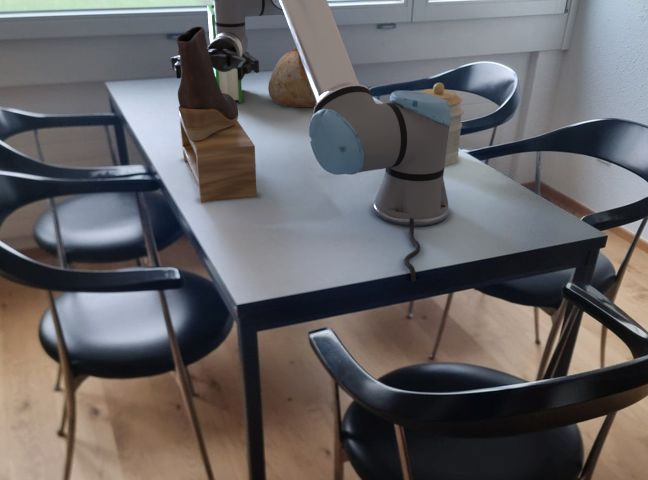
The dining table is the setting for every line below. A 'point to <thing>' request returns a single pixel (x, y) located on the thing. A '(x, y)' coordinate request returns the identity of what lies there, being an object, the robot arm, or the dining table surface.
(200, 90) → the boot
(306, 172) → the dining table surface
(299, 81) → the bread
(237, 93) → the hardback book
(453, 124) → the jar
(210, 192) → the shoe rack
